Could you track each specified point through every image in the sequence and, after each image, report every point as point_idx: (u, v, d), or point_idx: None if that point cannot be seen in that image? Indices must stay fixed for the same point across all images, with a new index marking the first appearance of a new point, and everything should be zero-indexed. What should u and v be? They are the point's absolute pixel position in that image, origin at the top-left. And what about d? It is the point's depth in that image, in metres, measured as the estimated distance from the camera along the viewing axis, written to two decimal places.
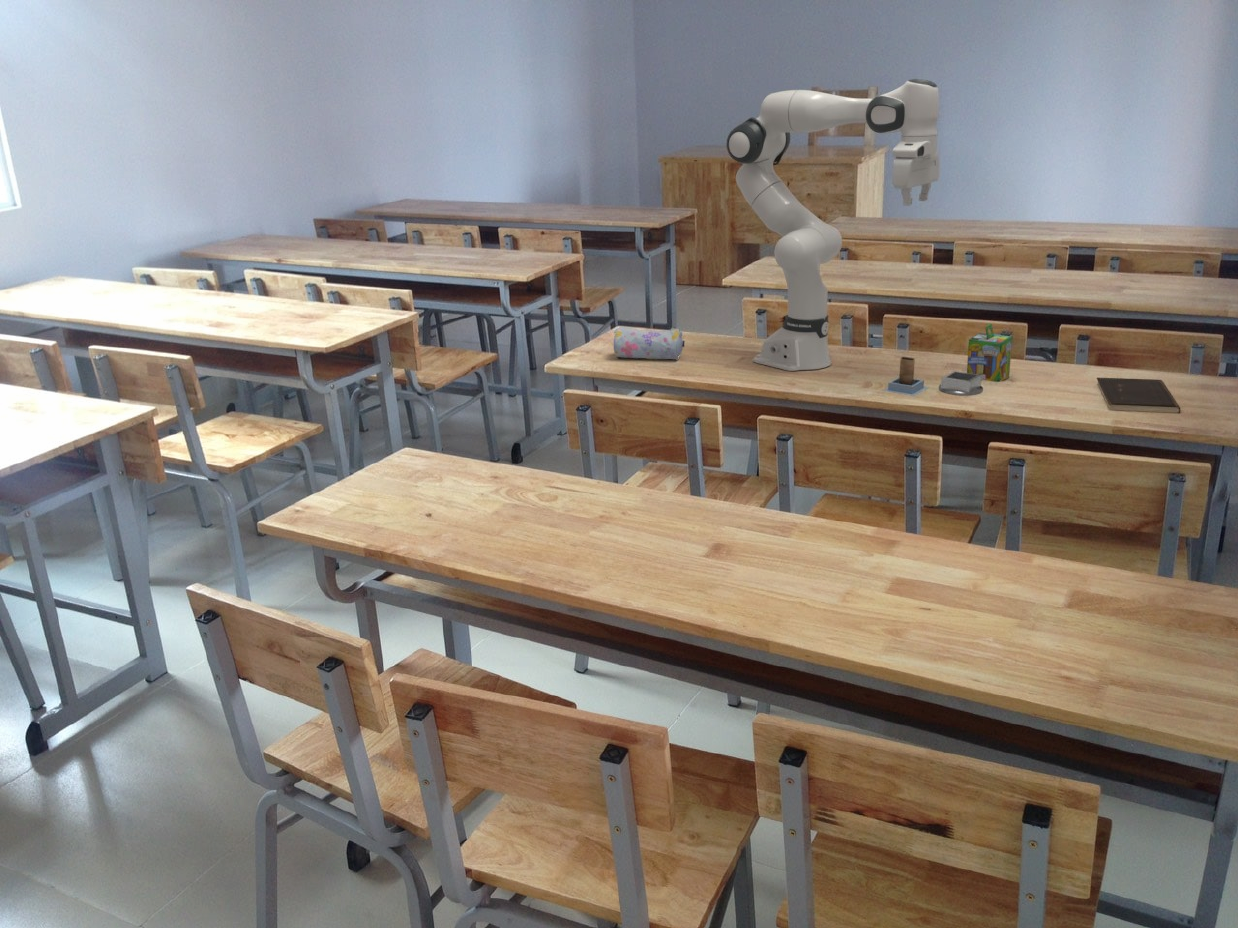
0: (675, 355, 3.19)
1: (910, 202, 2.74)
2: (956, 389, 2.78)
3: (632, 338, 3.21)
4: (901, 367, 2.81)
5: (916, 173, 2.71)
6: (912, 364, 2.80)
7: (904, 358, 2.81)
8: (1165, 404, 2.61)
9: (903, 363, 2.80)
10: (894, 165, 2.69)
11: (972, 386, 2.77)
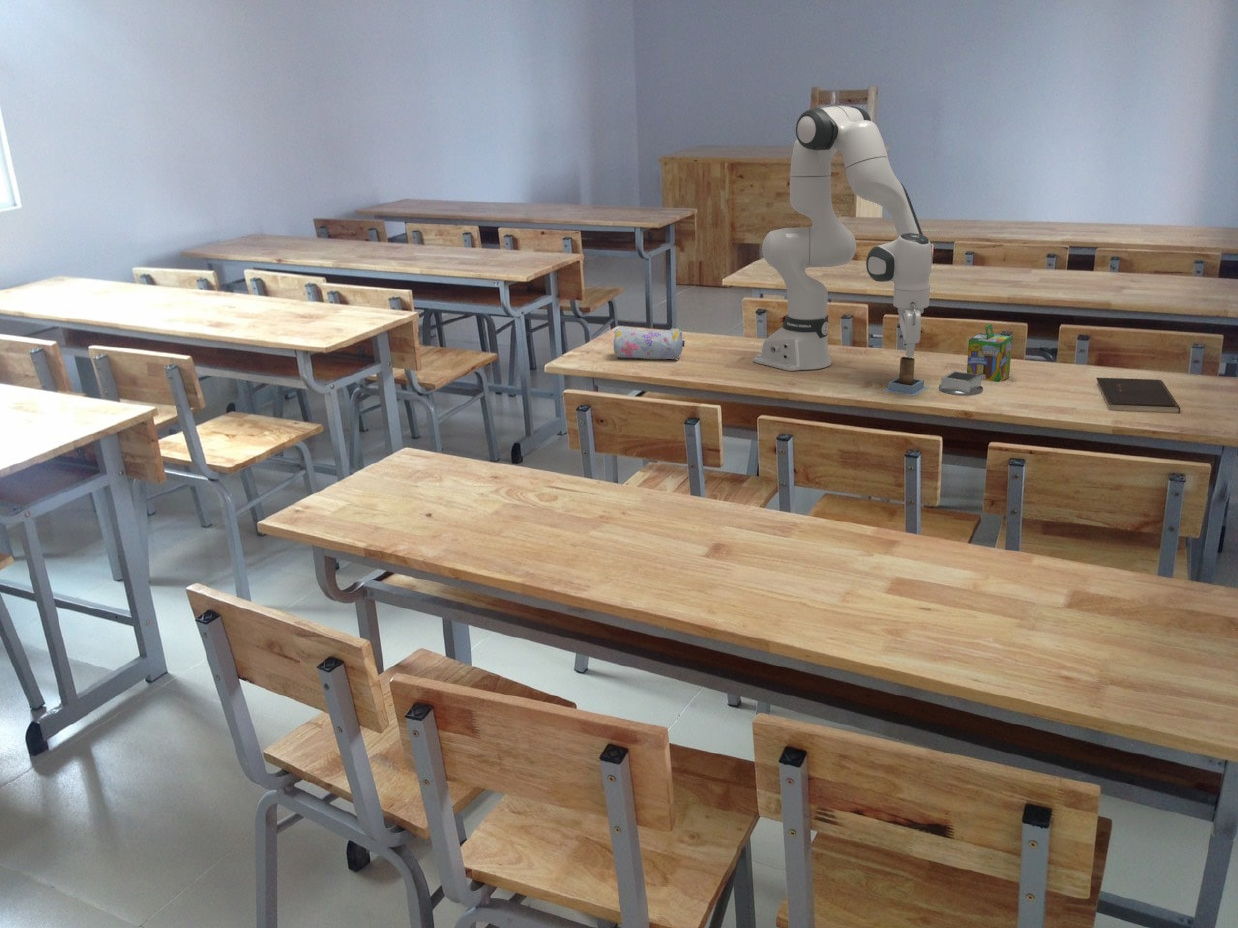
0: (675, 355, 3.19)
1: (903, 344, 2.84)
2: (956, 389, 2.78)
3: (632, 338, 3.21)
4: (901, 367, 2.81)
5: (901, 318, 2.81)
6: (912, 364, 2.80)
7: (904, 358, 2.81)
8: (1165, 404, 2.61)
9: (903, 363, 2.80)
10: None
11: (972, 386, 2.77)
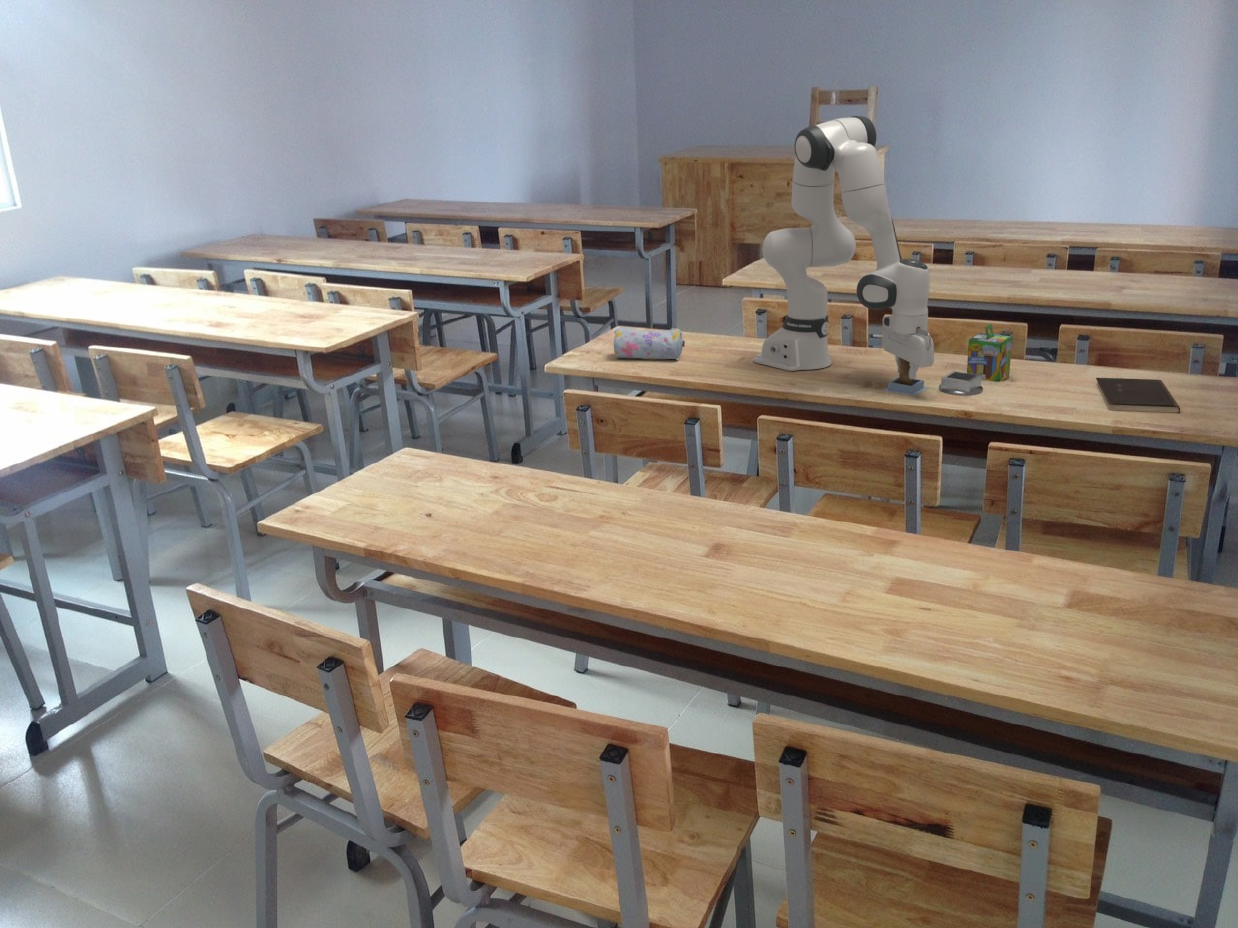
0: (676, 355, 3.19)
1: (898, 370, 2.84)
2: (956, 389, 2.78)
3: (632, 338, 3.21)
4: (901, 367, 2.81)
5: (893, 342, 2.83)
6: None
7: None
8: (1165, 404, 2.61)
9: (903, 363, 2.80)
10: None
11: (972, 386, 2.77)
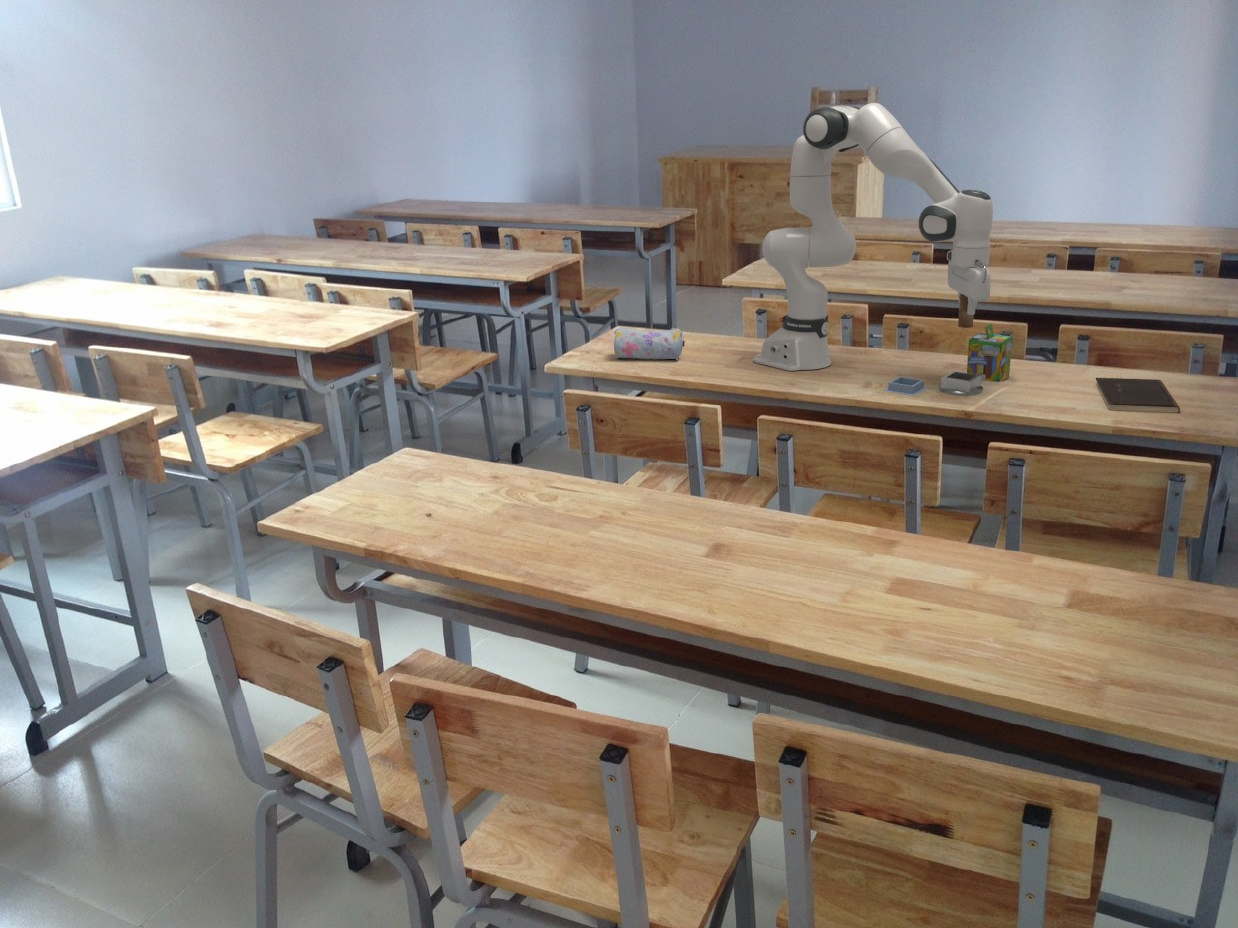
0: (676, 355, 3.19)
1: None
2: (956, 389, 2.78)
3: (633, 338, 3.21)
4: (960, 303, 2.73)
5: (956, 278, 2.75)
6: None
7: None
8: (1165, 404, 2.61)
9: (962, 299, 2.72)
10: None
11: (972, 386, 2.77)
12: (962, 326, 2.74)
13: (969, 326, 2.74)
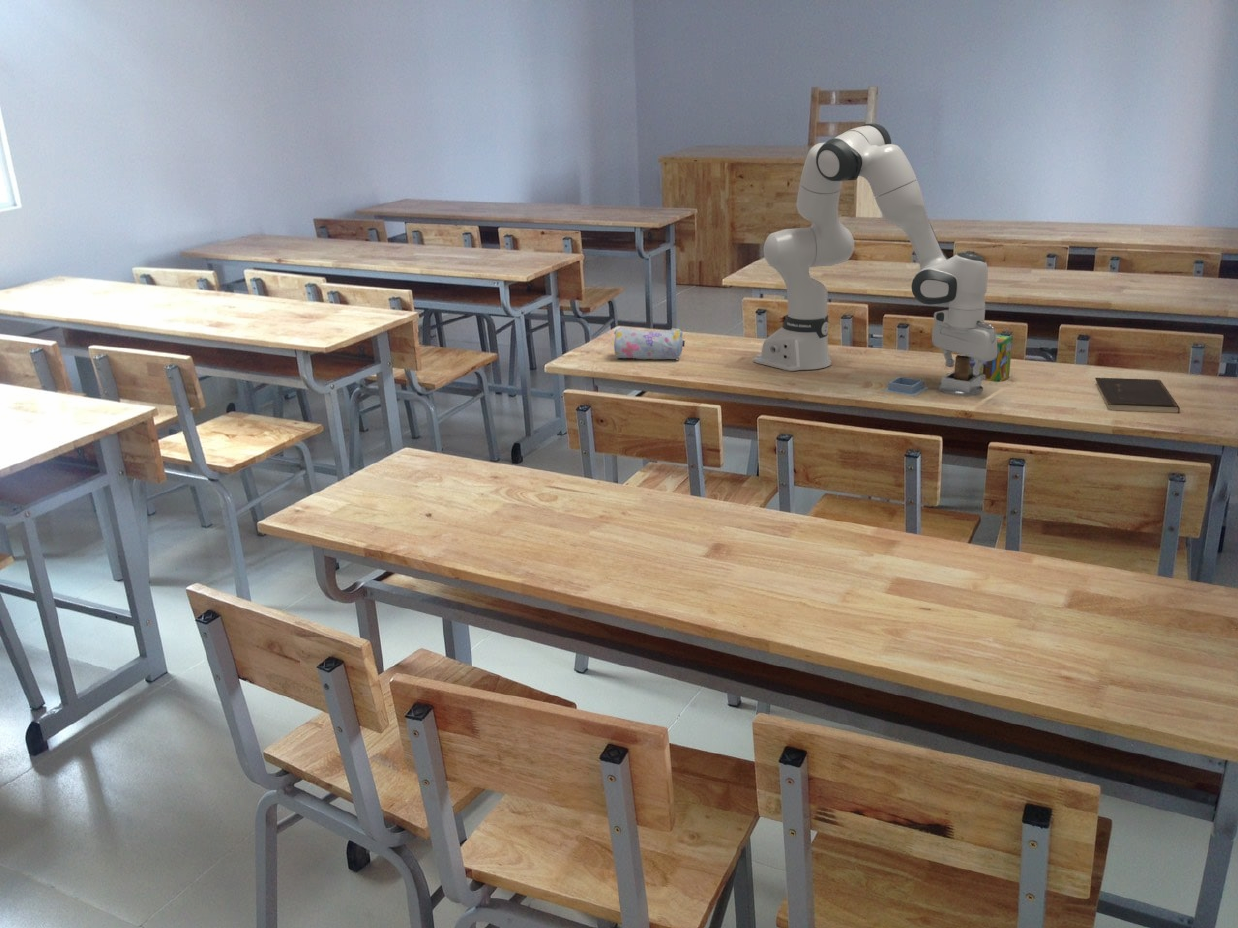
0: (676, 355, 3.19)
1: (946, 363, 2.83)
2: (956, 389, 2.78)
3: (633, 338, 3.21)
4: (957, 365, 2.78)
5: (947, 337, 2.79)
6: (968, 362, 2.77)
7: (959, 356, 2.78)
8: (1164, 404, 2.61)
9: (960, 362, 2.77)
10: None
11: (972, 386, 2.77)
12: None
13: None
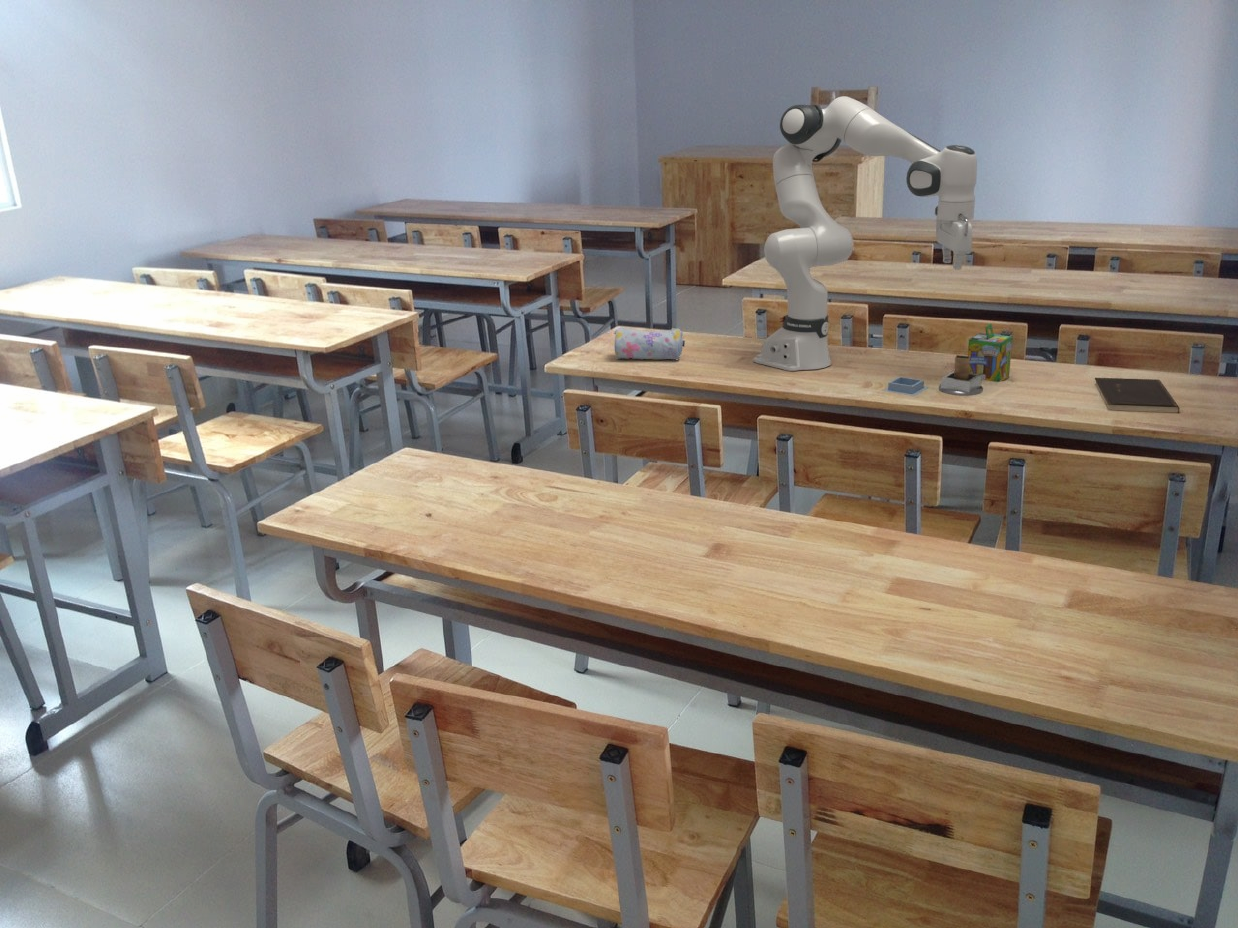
0: (677, 355, 3.19)
1: (943, 259, 2.85)
2: (956, 389, 2.78)
3: (633, 339, 3.20)
4: (957, 366, 2.78)
5: (942, 232, 2.82)
6: (968, 362, 2.77)
7: (959, 357, 2.78)
8: (1164, 404, 2.61)
9: (960, 362, 2.77)
10: None
11: (972, 386, 2.77)
12: None
13: None
